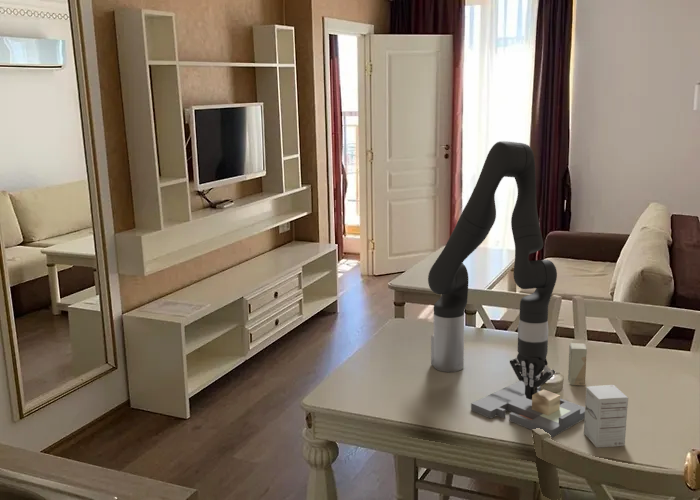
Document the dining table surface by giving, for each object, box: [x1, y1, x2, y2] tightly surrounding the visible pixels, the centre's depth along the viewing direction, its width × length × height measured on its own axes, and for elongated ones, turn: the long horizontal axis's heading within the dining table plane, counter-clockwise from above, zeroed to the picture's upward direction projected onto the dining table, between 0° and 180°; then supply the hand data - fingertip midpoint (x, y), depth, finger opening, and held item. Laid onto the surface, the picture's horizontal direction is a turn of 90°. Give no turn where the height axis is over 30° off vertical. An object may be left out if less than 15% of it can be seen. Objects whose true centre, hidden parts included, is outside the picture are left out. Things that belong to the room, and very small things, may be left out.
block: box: [532, 388, 561, 416], centre depth 179 cm, size 5×5×4 cm
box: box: [567, 342, 588, 386], centre depth 199 cm, size 5×4×11 cm
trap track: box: [470, 380, 585, 438], centre depth 182 cm, size 23×22×4 cm
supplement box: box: [583, 384, 629, 448], centre depth 166 cm, size 7×7×13 cm
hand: (530, 398), depth 182 cm, fingers closed
